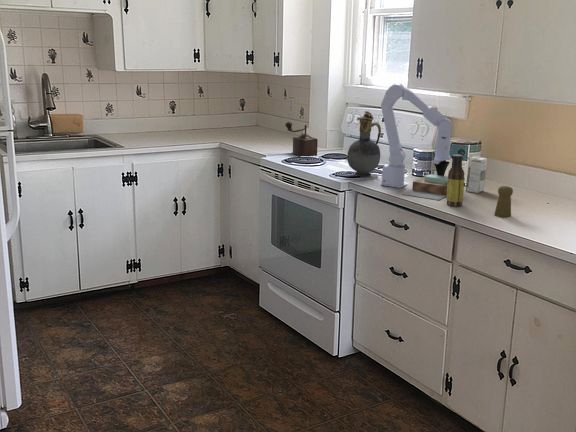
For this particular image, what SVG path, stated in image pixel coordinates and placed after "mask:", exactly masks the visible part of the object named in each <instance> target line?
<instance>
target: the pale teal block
mask: <svg viewBox="0 0 576 432" xmlns="http://www.w3.org/2000/svg"><path fill="white" fill-rule="evenodd" d="M423 177H424V181H427V182H434V183H441V184H445V183H447V182H448V176H445V175H444V176H439V175H437V174H432V173H431V174H427V175H425V176H423Z"/></svg>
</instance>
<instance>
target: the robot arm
mask: <svg viewBox="0 0 576 432" xmlns="http://www.w3.org/2000/svg"><path fill="white" fill-rule="evenodd" d="M400 99H401V101H408V102H410V103H411V104H412V105H414V106H415V107H416V108H418V110H420V111H422V114H423V118H425V120H427V121H428V122H429V123H430V124H432V125H433V126H434V127H437V136H436V144H435V145H436V147H435V155H434V156H435V157H434V158H433V165H434V167H435V171H436V175H439V176H445V175H446V171H447V168H448V166H449V165H450V161H452V157H451V155H450V151H451V150H450V149H451V142H452V141H451V140H452V139H451V137H452V136H451V135H452V132H451V131H452V129H453V124H452V123H453V122H452V121H451V120H450V118H449V117H447V115H446V114H443V113H442V112H440V111H439V110H438V107H437V106H435V107H434V106H433V105H430V106H429V105H427V104H426V103H425V102H424V101H423V100H422V99H421V98H420V97H418V95H416V94H415V93H414V92H413V91H412V90H410V89H409V88H408V87H406V86H404V85H403V84H402V83H399V82H396V83H394V84H392V85H390V86H389V87H388V88H387V90H386V91H385V94H384V97H383V99H382V101H381V103H380V108H381V114H382V117H383V122H384V127H385V132H386V136H387V142H388V146H389V147H388V148H389V150H388V151H389V157H388V161H389V163H388V164H387V163H386V164H384V165H383V166H382V170H381V181H380V186H385V187H391V188H392V187H393V188H399V189H400V188H403V187H406V186H407V185H408V183H405V173H406V164H405V163H404V161H405V159H406V153H405V151H404V150H403V148H402V145H401V144H402V143H401V142H400V136H399V132H398V127H397V123H396V122H397V121H396V117H395V112H394V108H393V107H394V105H395V104H396V103H397V102H398V100H400Z"/></svg>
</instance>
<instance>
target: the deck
mask: <svg viewBox="0 0 576 432" xmlns="http://www.w3.org/2000/svg"><path fill="white" fill-rule="evenodd" d="M424 177H425V176H423V177H421V178H418V179H416V180H413V181H412V189H411V190H413V191H420V192H427V193H433V194H440V195H446V197H447V185H448V182H447V183H445V184H441V183H434V182H427V181H424Z"/></svg>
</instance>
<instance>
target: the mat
mask: <svg viewBox="0 0 576 432" xmlns="http://www.w3.org/2000/svg"><path fill="white" fill-rule="evenodd" d="M401 195H403V196H407V197H414V198H421V199H428V200H433V201H434V200H435V201H441V200H442V199H444V198H447V196H446V195H440V194H433V193H427V192H420V191H413V190H412V189H411V190H408V191H406V192H403V193H401Z"/></svg>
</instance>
